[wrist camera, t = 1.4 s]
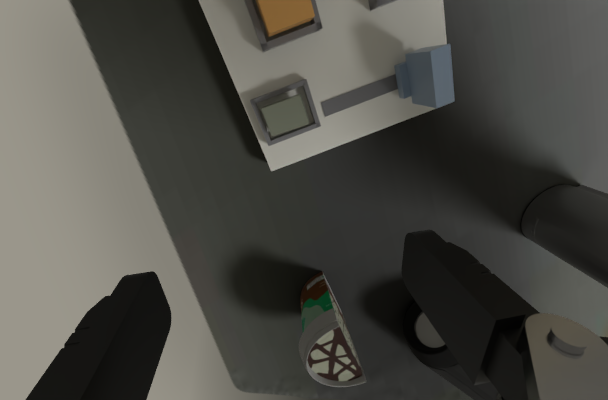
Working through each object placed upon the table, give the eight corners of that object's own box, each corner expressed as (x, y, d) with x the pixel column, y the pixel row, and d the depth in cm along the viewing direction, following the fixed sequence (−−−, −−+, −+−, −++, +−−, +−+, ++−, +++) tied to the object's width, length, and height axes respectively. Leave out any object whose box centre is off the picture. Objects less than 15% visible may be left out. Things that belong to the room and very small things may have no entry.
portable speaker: (501, 343, 53) (551, 398, 44) (459, 371, 55) (498, 430, 46) (436, 278, 43) (483, 333, 34) (387, 316, 45) (419, 377, 36)
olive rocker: (300, 93, 24) (299, 95, 23) (309, 121, 26) (308, 124, 25) (263, 106, 25) (261, 108, 24) (273, 133, 26) (272, 136, 25)
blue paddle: (423, 45, 25) (458, 40, 21) (429, 94, 27) (462, 98, 23) (392, 57, 25) (421, 54, 21) (400, 104, 27) (428, 111, 23)
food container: (278, 280, 38) (283, 344, 29) (318, 263, 38) (337, 323, 29) (309, 334, 43) (322, 402, 34) (345, 319, 43) (367, 384, 34)
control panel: (414, -118, 22) (445, -156, 19) (437, 100, 30) (462, 104, 27) (188, -29, 23) (175, -49, 19) (270, 164, 31) (272, 176, 27)
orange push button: (294, -33, 20) (298, -45, 18) (310, 20, 22) (314, 15, 20) (250, -16, 21) (249, -25, 19) (268, 37, 22) (269, 33, 20)
